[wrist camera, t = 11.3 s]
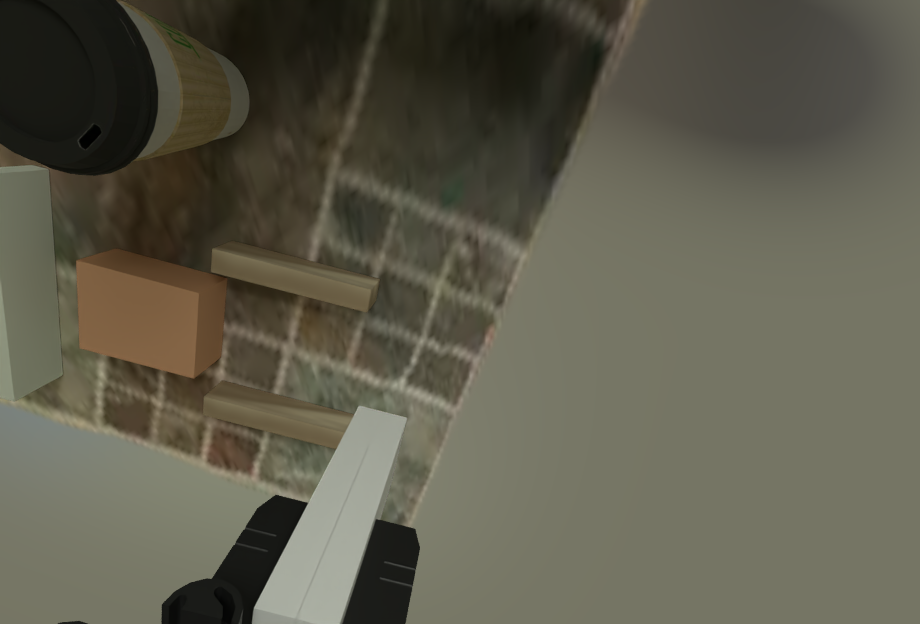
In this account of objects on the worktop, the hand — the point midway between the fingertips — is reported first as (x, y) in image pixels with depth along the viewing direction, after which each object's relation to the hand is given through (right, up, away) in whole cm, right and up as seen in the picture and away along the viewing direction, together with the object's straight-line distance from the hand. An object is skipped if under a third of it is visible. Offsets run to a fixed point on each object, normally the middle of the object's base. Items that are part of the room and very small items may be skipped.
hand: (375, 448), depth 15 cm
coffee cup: (-17, +21, +22) cm, 35 cm away
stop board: (-35, +7, +28) cm, 45 cm away
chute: (-12, +1, +29) cm, 31 cm away
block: (-24, +5, +29) cm, 38 cm away
